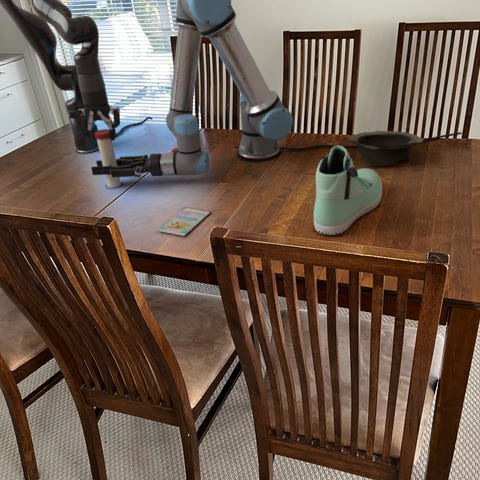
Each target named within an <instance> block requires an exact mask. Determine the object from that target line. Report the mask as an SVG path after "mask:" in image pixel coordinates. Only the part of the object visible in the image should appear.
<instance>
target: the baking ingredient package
mask: <svg viewBox="0 0 480 480" xmlns="http://www.w3.org/2000/svg"><path fill="white" fill-rule="evenodd" d="M210 213H211V211H205V210H201V209H194V208H190V207H184V208H183V209H181V211H179V212H177V214H175V215H174V216H173V217H172V218H170V219H169V220H168V221H167V222H166V223H164V224H163V225H161V227H159V228H158V229H157V231H158V232H161V233H162V232H163V233H168V234H172V235H178V236H182V237H184V236H186V235H187V234H188V233H189V232H190V231H192V229H193V228H195V227H196V226H197V225H198V224H199V223H200V222H202V220H203V219H204V218H206V217H207V216H208V215H209V214H210Z"/></svg>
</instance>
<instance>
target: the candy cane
mask: <svg viewBox="0 0 480 480" xmlns="http://www.w3.org/2000/svg"><path fill="white" fill-rule="evenodd" d="M176 152H177V153H179V152H178V146H176V147H174V148H172V149H170V153H176Z"/></svg>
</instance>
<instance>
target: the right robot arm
mask: <svg viewBox="0 0 480 480" xmlns="http://www.w3.org/2000/svg"><path fill="white" fill-rule="evenodd" d="M236 18H237V13H236V11H235V10H234V8H233V6H232V0H177V1H176V15H175V24H176V25H177V38H176V45H175V55H174V63H173V73H172V82H171V83H172V84H171V92H170V101H169V110H168V113H167V114H166V116H165V123H166V126H167V129H168V130H169V131H170V132H171V134H172V135H173V136H174V138H175V140H176V145H177V146H176V147H178V151H177V152H174V153H172V152H163V153H150V154H149V155H148V154H143V155H127V156H126V155H125V156H119V158H116V162H117V167H112V165H110V166H103V164H102V160H101V159H100V160H96V161H95V163H96V165H97V166H91V167H90V168H91V169H90V170H91V172H92V176H105V175H108V174H111V175H112V177H120V178H133V177H134V178H141V177H142V174H147V173H149V174H150V175H151V176H152V177H163V176H165V177H170V176H171V177H175V176H198V175H199V176H200V175H205V174H207V173H209V171H210V157H209V153H208V151H204V150H202V146H201V138H200V125H199V121H198V118H197V116H196V115H194V114H192V113H193V106H194V105H193V104H194V96H195V89H196V81H197V75H198V74H197V73H198V67H199V59H200V58H199V57H200V51H201V45H202V38H206V39H209V40H210V42H211V44H212V46H213V47H214V49H215V50H216V52H217V54H218V56H219V57H220V60H221V62H222V63H223V65H224V67H225V68H226V70H227V72H228V74H229V75H230V77H231V78H232V80H233V83H234V84H235V86H236V88H237V90H238V91H239V93H240V97H239V105H240V106H239V107H240V120H241V133H242V134H241V139H240V142H239V147H238V157H240V158H241V159H243V160H246V161H250V162H262V161H268V160H272V159H275V158H276V157H278V156H279V155H280V150H286V151H287V150H292V151H303V150H304V151H305V150H308V149H309V150H310V149H315V148H333V147H334V146H342V147H344V148H345V149H348V148H349V149H353V148H354V149H356V148H357V149H358V145H356V144H352V145H348V144H347V145H346V144H345V145H342V144H341V145H340V144H339V145H337V144H316V145H309V146H304V147H289V146H288V147H287V146H286V147H285V146H279V143H278V142H280V141H282V140H284V139H285V138H286V137H287V136H288V135H289V134H290V133H291V131H292V129H293V126H294V117H293V114H292V113H291V111H290V110H289V108H286V107H285V105H284V104H283V102H282V100H281V99H280V96H279V94H278V92H277V91H275V90H271V89H270V88H269V86H268V84H267V82H266V80H265V79H264V77H263V74H262V72H261V71H260V69H259V67H258V65H257V63H256V61H255V59H254V57H253V55H252V53H251V52H250V50H249V48H248V46H247V44H246V42H245V40H244V39H243V36H242V35H241V33H240V30H239V28H238V27H237V25H236ZM460 135H462V131H458V132H454V133H448V134H442V135H437V136H432V137H427V138H422V139H423V140H422V141H423V142H427V141H433V140H438V139H442V138H447V137H455V136H460ZM424 140H425V141H424ZM178 152H179V153H178Z"/></svg>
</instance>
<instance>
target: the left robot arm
mask: <svg viewBox="0 0 480 480" xmlns="http://www.w3.org/2000/svg"><path fill="white" fill-rule="evenodd" d="M30 2H31V5H32V7H33V9H34V11H35V13H34V12H31V11H29V10H26V9H24V8H22V7H21V6H18V5H17V4H16V3H15V2H14V0H0V6H1V7H2V8H3V10H4V11H5V12H6V13H7V15H8V16H9V17H10V18H11V20H12V21H13V23H14V24H15V25H16V28H17V29H18V30H19V31H20V33H21V34H22V37H24V39H25V40H26V42H27V44H28V46H30V47H31V49H32V50H33V52H34V53H35V54H36V56H37V57H38V58H39V60H40V62H41V63H42V65H43V66H44V67H45V69H46V71H47V73H48V75H49V77H50V78H51V81H52V82H53V84H54V85H55V87H56V88H57V89H58V90H60V91H64V92H71V91H72V92H73V91H74V96H73V97H71V98H69V99H67V100H65V102H64V106H65V110H66V114H67V115H66V116H67V118H68V122H69V126H70V130H71V133H72V137H73V142H74V147H75V148H76V149H75V150H76V152H77V153H80V154H87V153H92V152H96V151H97V150H98V151H99V147H98V143H97V139H96V138H95V135H94V132H96V131H98V130H99V129H98V125H97V123H96V122H97V121H100V122H103V123H104V124H105V125H106V126H107V129H109V133H110V138H111V141H112V142H114V141H115V140H116V138H117V137H118V136H119V135H120V134H122V133H123V131H124V130H126V129H128V128H131V127H136V126H139V125H142V124H144V123H146V122H147V121H148V120H153V117H151V116H147V117H146V118H144V119H143V120H142V121H139V122H135V123H131V124H127V125H125V126H123V127H122V128H121V129H120V130H119V131H117V130H116V129H117V128H118V127H119V126H120V125H121V115H120V113H121V111H120V107H118V106H117V107H112V106H111V105H110V104H109V98H108V94H107V89H106V83H105V80H104V76H103V74H102V69H101V63H100V60H99V42H100V41H99V40H100V34H99V28H98V25H97V23H96V21H95V20H94V19H93V18H92V17H91V16H89V15H80V16H75V17H73V13H72V10H71V9H70V8H69V7H68V6H67V5H65V4H64V3H63V2H61V1H60V0H30ZM50 25H51V26H50ZM52 27H53V28H54V30H55V31H56V32H57V33H58V35H59V36H60V37H61V38H62V40H63V41H64V42H66V43H68V44H69V45H72V46H73V45H74V46H77V45H81V49H80V50H79V51H78V52H77V53H75V54H74V56H73V61H74V64H66V65H63V64H61V62H59V60H58V59H57V57H56V56H57V55H56V53H57V48H58V40H57V36H56V34H55V32H54V31H53V29H52ZM110 113H111V115H112V116H113V117H111V115H110ZM116 131H117V132H116Z"/></svg>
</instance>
